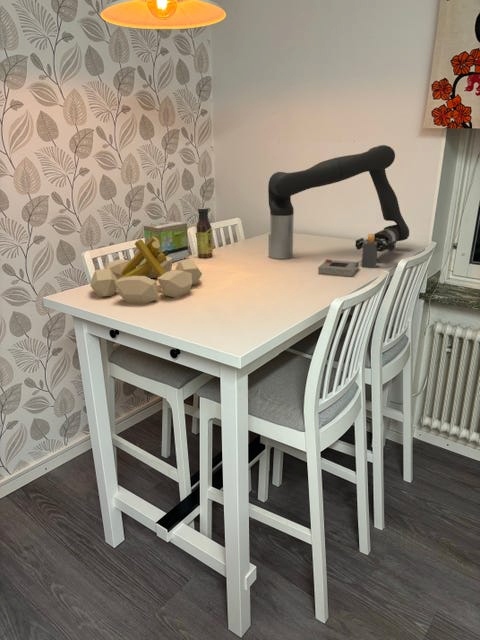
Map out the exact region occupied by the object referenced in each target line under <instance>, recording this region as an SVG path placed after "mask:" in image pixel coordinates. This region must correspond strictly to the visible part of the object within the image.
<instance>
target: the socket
mask: <svg viewBox="0 0 480 640" xmlns="http://www.w3.org/2000/svg"><path fill="white" fill-rule="evenodd" d="M359 264H360V262H359V261H350V260H334V259H330V258H329V259H325V260H324V261H323V262H322V263H321V264H320V265H319V266H318V268H317V269H318V270H317V274H318V275H326V276H336V277H346V278H352V277H353V276H354V275H355V274H356V273H357V271H358V270H359V268H360V267H359Z"/></svg>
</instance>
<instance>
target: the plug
mask: <svg viewBox="0 0 480 640" xmlns="http://www.w3.org/2000/svg"><path fill="white" fill-rule="evenodd" d="M374 237H375V233H368V234H367V239H368V241H365V242H364V243H363V248H362V256H361V268H364V269H365V268H367V269H375V268H376V267H377V259H378V251H377V249H378V242H374Z"/></svg>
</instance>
